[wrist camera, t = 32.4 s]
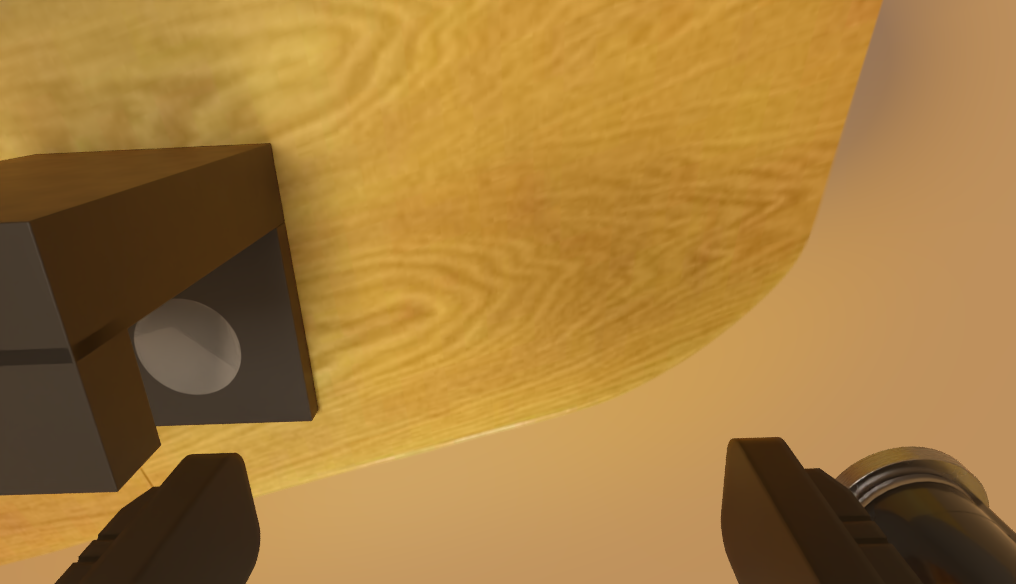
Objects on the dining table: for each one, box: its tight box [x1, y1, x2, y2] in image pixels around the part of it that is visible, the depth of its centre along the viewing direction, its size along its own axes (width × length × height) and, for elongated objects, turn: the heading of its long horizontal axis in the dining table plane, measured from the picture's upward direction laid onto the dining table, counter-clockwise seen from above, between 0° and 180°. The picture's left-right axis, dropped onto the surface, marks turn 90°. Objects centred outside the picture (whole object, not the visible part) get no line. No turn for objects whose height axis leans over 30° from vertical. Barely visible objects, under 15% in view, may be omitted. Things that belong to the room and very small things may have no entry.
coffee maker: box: [0, 143, 318, 495], centre depth 32 cm, size 19×15×20 cm
